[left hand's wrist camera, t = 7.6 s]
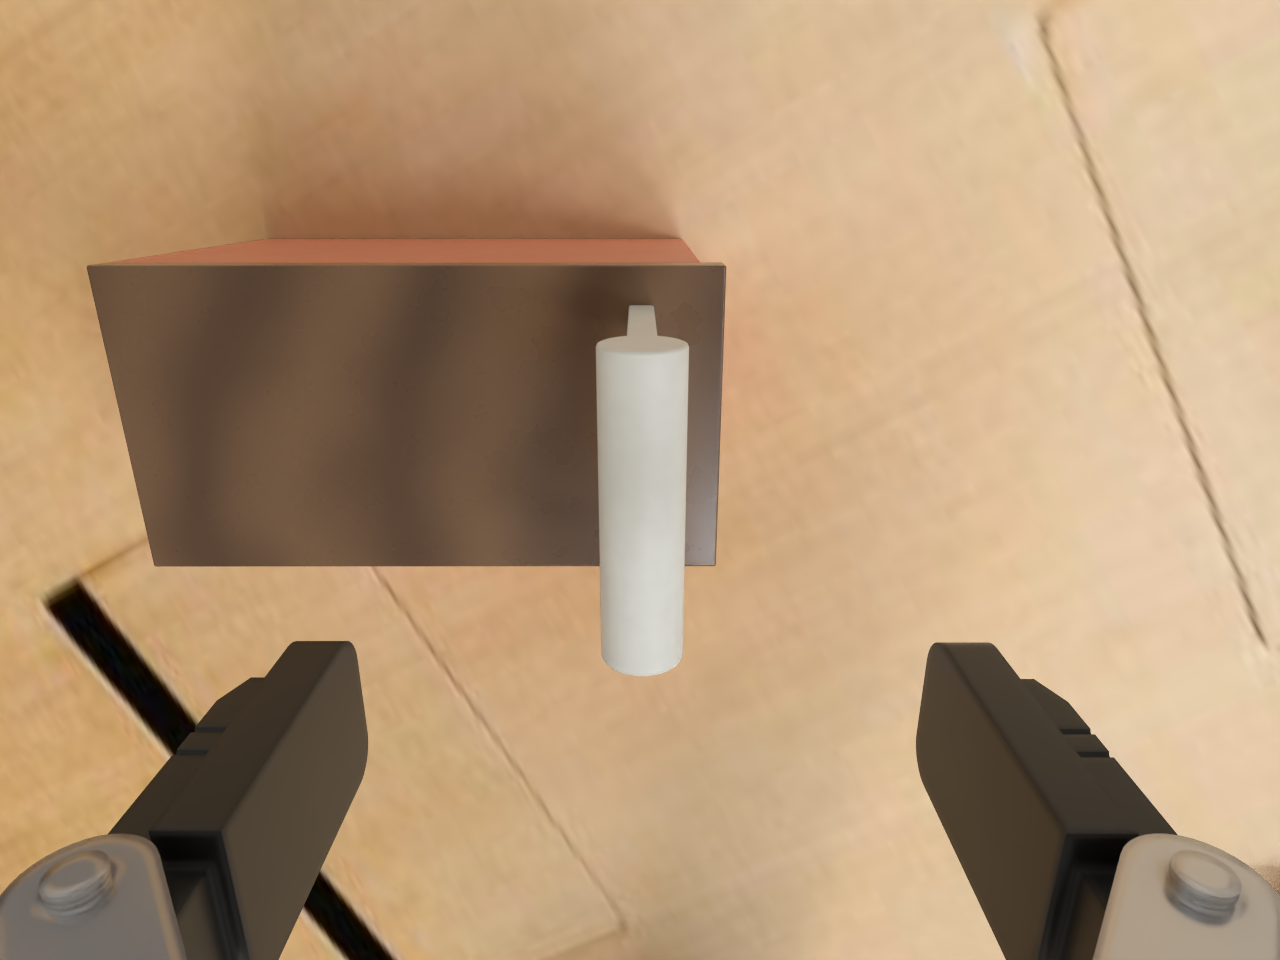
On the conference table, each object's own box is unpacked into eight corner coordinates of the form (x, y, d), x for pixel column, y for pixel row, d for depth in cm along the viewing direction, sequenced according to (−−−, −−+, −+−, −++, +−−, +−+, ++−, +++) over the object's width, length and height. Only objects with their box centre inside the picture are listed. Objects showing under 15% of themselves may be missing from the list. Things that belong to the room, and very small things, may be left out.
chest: (682, 238, 33) (701, 262, 24) (679, 452, 37) (694, 553, 27) (265, 238, 33) (107, 262, 23) (297, 452, 37) (170, 553, 27)
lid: (723, 262, 23) (766, 303, 15) (713, 553, 27) (744, 712, 19) (106, 262, 23) (-169, 303, 15) (169, 554, 27) (-31, 712, 19)
